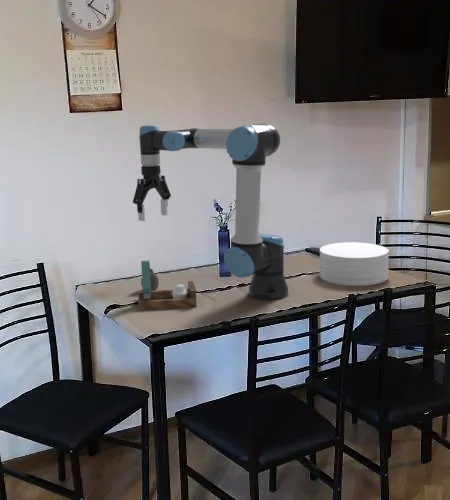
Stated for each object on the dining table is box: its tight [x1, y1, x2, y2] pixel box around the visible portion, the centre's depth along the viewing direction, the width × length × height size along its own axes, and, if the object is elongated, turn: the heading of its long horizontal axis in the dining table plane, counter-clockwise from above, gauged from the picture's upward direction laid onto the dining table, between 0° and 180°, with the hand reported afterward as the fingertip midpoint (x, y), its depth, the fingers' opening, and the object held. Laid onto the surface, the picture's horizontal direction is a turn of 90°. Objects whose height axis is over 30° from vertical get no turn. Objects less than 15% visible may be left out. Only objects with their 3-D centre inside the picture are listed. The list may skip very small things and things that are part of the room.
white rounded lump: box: [172, 284, 188, 299], centre depth 257 cm, size 6×6×7 cm
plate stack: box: [318, 241, 390, 286], centre depth 287 cm, size 28×28×12 cm
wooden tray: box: [137, 280, 198, 311], centre depth 257 cm, size 21×14×6 cm, turn 97°
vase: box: [140, 268, 160, 291], centre depth 273 cm, size 7×7×9 cm
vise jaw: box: [140, 260, 151, 301], centre depth 255 cm, size 3×10×16 cm, turn 7°
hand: (153, 217), depth 278 cm, fingers open, 13 cm apart
